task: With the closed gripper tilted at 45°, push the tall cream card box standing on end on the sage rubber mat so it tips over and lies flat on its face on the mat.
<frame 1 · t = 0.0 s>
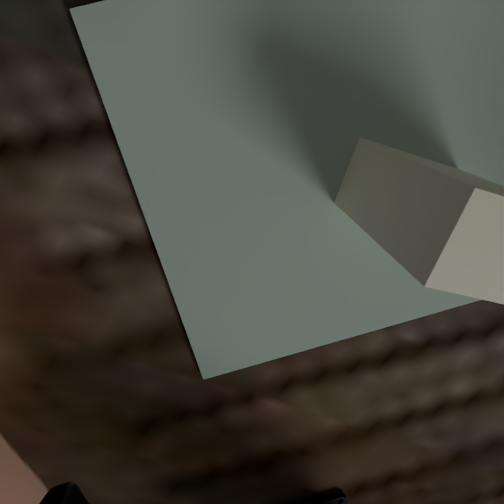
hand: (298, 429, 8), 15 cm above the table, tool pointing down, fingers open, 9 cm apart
rubber mat: (354, 174, 22), on the table
card box: (396, 185, 22), resting on rubber mat
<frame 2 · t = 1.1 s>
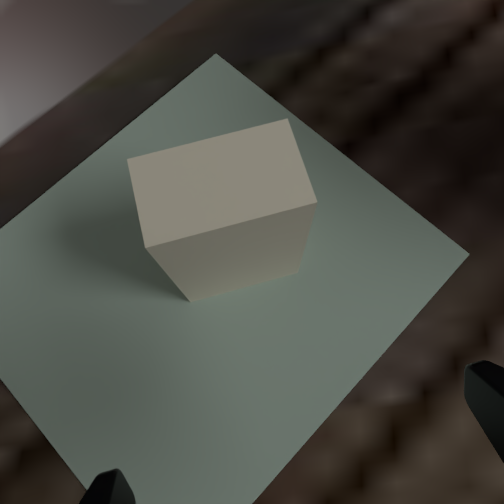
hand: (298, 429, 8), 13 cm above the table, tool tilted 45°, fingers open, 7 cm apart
rubber mat: (199, 273, 24), on the table
card box: (236, 257, 23), resting on rubber mat
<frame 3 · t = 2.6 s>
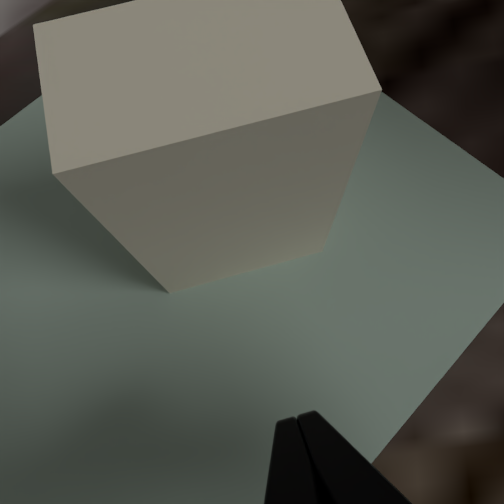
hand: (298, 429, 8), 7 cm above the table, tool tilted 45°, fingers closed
rubber mat: (182, 252, 17), on the table
card box: (235, 230, 16), resting on rubber mat
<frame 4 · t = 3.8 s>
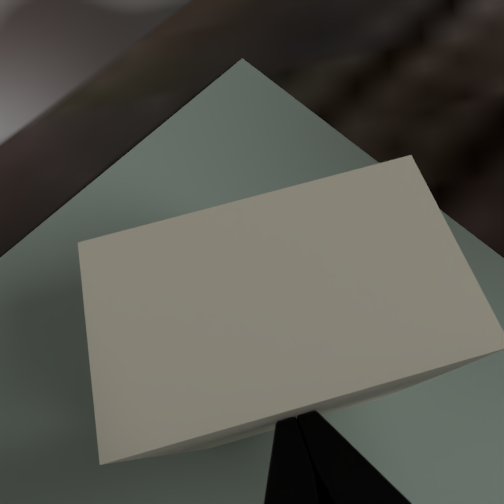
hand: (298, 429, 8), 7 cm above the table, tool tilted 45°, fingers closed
rubber mat: (221, 393, 15), on the table
card box: (279, 372, 15), point 1 cm above the table, touching gripper, rubber mat
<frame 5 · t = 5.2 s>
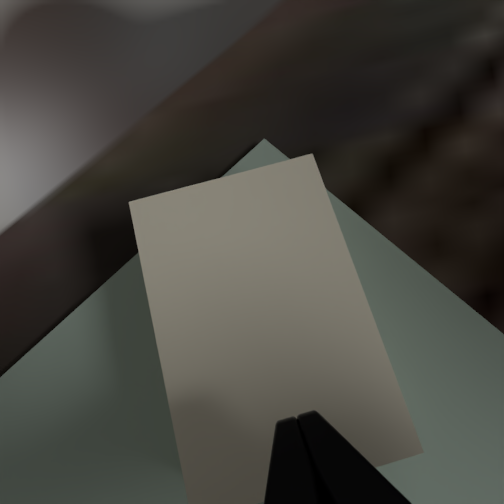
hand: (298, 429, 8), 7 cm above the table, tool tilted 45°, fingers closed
card box: (304, 474, 12), point 2 cm above the table, tilted 90°, touching rubber mat
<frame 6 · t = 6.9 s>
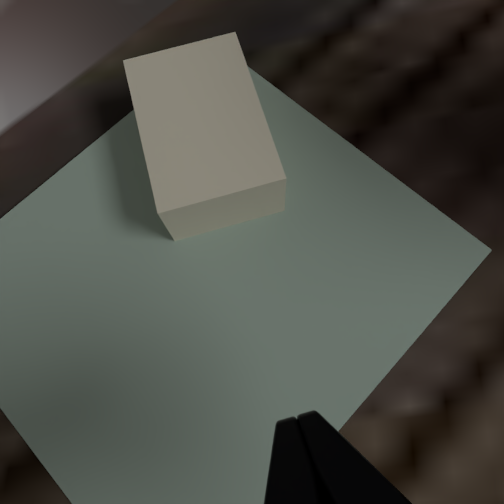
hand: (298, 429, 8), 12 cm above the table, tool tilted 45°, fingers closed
rubber mat: (198, 273, 22), on the table
card box: (226, 212, 21), point 2 cm above the table, tilted 90°, touching rubber mat
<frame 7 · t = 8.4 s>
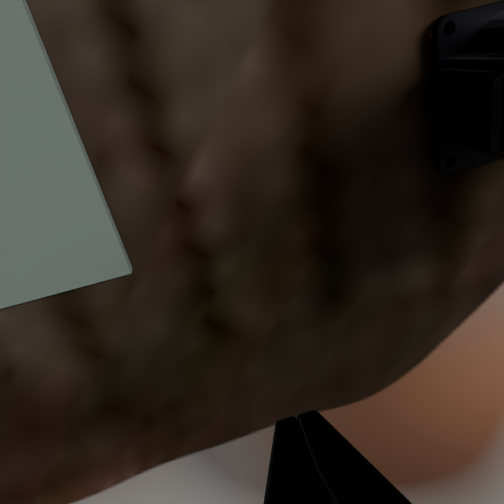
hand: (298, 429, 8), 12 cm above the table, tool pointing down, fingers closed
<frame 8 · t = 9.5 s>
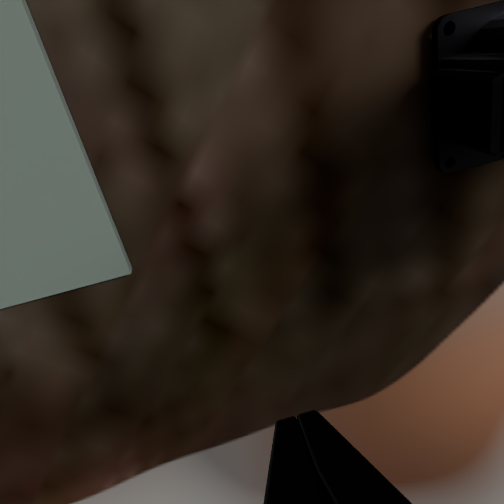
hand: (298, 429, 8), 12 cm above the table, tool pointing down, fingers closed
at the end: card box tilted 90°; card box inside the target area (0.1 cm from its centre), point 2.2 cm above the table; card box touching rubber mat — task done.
